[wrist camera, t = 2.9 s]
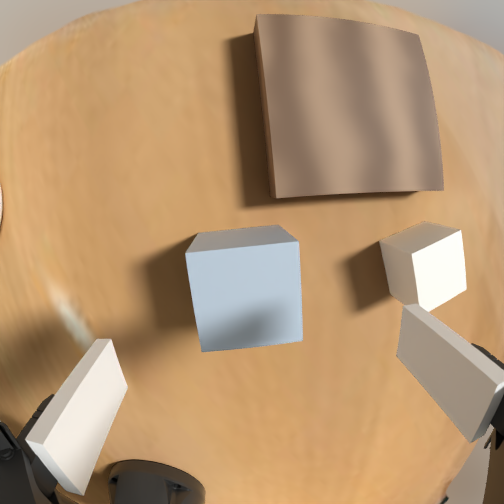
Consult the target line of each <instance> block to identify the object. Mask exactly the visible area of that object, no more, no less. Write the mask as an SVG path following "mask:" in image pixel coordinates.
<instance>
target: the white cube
mask: <svg viewBox="0 0 504 504" xmlns="http://www.w3.org/2000/svg"><path fill="white" fill-rule="evenodd" d="M379 243H380V247H381V252H382V256H383V261H384V266H385V270H386V275H387V280H388V285H389V291H390V294H391V295H392V296H393V297H395V298H396V299H398V300H399V301H400V302H402V303H403V304H404V305H410V304H415V303H417V304H418V305H419V306H421V307H422V308H423V309H425V310H426V311H428V312H429V311H431V310H432V309H434V308H436V307H438V306H439V305H441V304H443V303H445V302H446V301H448V300H450V299H451V298H453V297H455V296H456V295H458V294H459V293H461V292H463V291H464V290H466V274H465V261H464V251H463V243H462V235H461V230H459V229H455V228H451V227H447V226H443V225H439V224H435V223H431V222H426V221H424V222H421V223H419V224H417V225H414V226H412V227H410V228H407V229H405V230H403V231H400V232H398V233H396V234H393V235H391V236H389V237H386V238H384V239H382V240H379Z"/></svg>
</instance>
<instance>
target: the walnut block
mask: <svg viewBox="0 0 504 504" xmlns="http://www.w3.org/2000/svg"><path fill="white" fill-rule="evenodd" d="M253 34H254V43H255V51H256V59H257V68H258V77H259V86H260V95H261V105H262V114H263V124H264V134H265V144H266V155H267V166H268V177H269V188H270V197H274V198H286V197H299V196H313V195H328V194H346V193H367V192H394V191H444V182H443V166H442V154H441V144H440V135H439V127H438V120H437V114H436V108H435V102H434V96H433V91H432V86H431V81H430V77H429V72H428V68H427V64H426V60H425V56H424V52H423V49H422V45H421V42H420V38H419V35H417V34H413V33H410V32H406V31H402V30H398V29H394V28H389V27H385V26H380V25H375V24H370V23H364V22H358V21H352V20H345V19H337V18H328V17H318V16H304V15H280V14H257V15H256V21H255V26H254V32H253Z"/></svg>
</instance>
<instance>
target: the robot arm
mask: <svg viewBox="0 0 504 504" xmlns="http://www.w3.org/2000/svg"><path fill="white" fill-rule="evenodd" d="M396 356H397V357H398V358H399V360H400V361H401V362H402V363H403V364H404V365H405V366H406V368H407V369H408V370H409V371H410V372H411V373H412V375H413V376H414V377H415V378H416V379H417V380H418V381H419V383H420V384H421V385H422V386H423V387H424V388H425V390H426V391H427V392H428V393H429V394H430V396H431V397H432V398H433V399H434V400H435V401H436V403H437V404H438V405H439V406H440V407H441V409H442V410H443V411H444V412H445V413H446V415H447V416H448V417H449V418H450V419H451V421H452V422H453V423H454V424H455V426H456V427H457V428H458V429H459V430H460V432H461V433H462V434H463V435H464V437H465V438H466V439H467V440H468V442H469V443H471V442H473V441H475V440H477V439H478V438H480V437H482V436H483V435H484V434H485V432H486V431H487V428H488V427H489V425H490V423H491V425H492V426H493V427H494V429H493V431H492V433H491V435H490V437H489V439H488V440H487V442H486V443H485V446H484V448H485V449H486V448H487V446H488V444H489V443H490V442H491V447H490V460H489V468H488V476H487V483H486V489H485V494H484V500H483V504H504V364H503V363H502V362H501V361H499V360H497V358H496V357H494V356H493V355H491V354H490V353H489V352H488V351H487V350H485V349H484V348H483V347H480V346H478V345H475V344H473V343H472V344H470V343H469V342H467V341H466V340H465V339H464V338H462V337H461V336H460V335H458V334H457V333H456V332H454V331H453V330H452V329H450V328H449V327H448V326H446V325H445V324H444V323H442V322H441V321H440V320H438V319H437V318H436V317H434V316H433V315H432V314H430V313H429V312H428V311H426V310H425V309H423V308H422V307H421V306H419V305H418V304H417V303H415V304H410V305H406V306H403V311H402V320H401V328H400V335H399V342H398V349H397V355H396ZM127 389H128V387H127V384H126V381H125V378H124V376H123V373H122V370H121V367H120V364H119V362H118V359H117V356H116V353H115V350H114V346H113V343H112V340H111V339H96V341H95V342H94V343H93V344H92V346H91V347H90V348H89V350H88V351H87V352H86V353H85V355H84V356H83V357H82V359H81V360H80V361H79V363H78V364H77V365H76V367H75V368H74V369H73V371H72V372H71V373H70V375H69V376H68V378H67V379H66V380H65V382H64V383H63V384H62V386H61V387H60V389H59V390H58V391H57V393H56V394H55V395H53V394H52V395H50V396H49V397H48V398H46V399H45V400H44V401H42V403H41V404H40V406H39V407H38V408H37V411H35V413H34V414H33V415H32V418H30V420H29V421H28V423H27V424H26V426H25V427H24V428H23V430H22V431H21V433H20V434H19V436H18V437H17V439H16V438H15V437H14V435H13V434H12V433H11V431H10V430H9V428H8V426H7V425H6V424H4V423H2V422H0V504H78V503H76V502H75V501H73V500H71V499H70V498H68V497H66V496H65V495H63V494H61V493H60V492H58V491H57V490H56V488H55V487H56V485H57V482H58V483H59V484H60V485H61V486H62V487H63V488H64V489H65V490H66V491H68V492H71V493H75V494H79V495H83V496H84V494H85V491H86V488H87V485H88V483H89V480H90V477H91V475H92V472H93V470H94V467H95V464H96V462H97V459H98V457H99V454H100V452H101V449H102V447H103V444H104V442H105V440H106V437H107V435H108V432H109V430H110V428H111V425H112V423H113V421H114V418H115V416H116V414H117V411H118V409H119V407H120V404H121V402H122V400H123V398H124V395H125V393H126V391H127ZM108 488H109V497H110V504H205V489H204V487H203V485H202V484H201V483H200V482H199V481H198V480H197V479H195V478H194V477H192V476H191V475H189V474H187V473H185V472H183V471H181V470H178V469H176V468H173V467H170V466H167V465H163V464H159V463H155V462H149V461H140V460H130V461H123V462H120V463H117V464H115V465H114V466H113V467H112V469H111V472H110V475H109V478H108Z"/></svg>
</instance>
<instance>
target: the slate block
mask: <svg viewBox="0 0 504 504" xmlns="http://www.w3.org/2000/svg"><path fill="white" fill-rule="evenodd" d="M185 256H186V263H187V269H188V276H189V282H190V289H191V295H192V301H193V307H194V313H195V318H196V324H197V329H198V335H199V340H200V345H201V350H202V352H210V351H222V350H232V349H242V348H251V347H260V346H268V345H276V344H283V343H290V342H297V341H303V329H302V298H301V274H300V255H299V241H298V240H297V239H295V238H294V237H293V236H292V235H290V234H289V233H288V232H287V231H285V230H284V229H283V228H282V227H281V226H279V225H271V226H260V227H250V228H241V229H231V230H221V231H212V232H203V233H198V234H197V236H196V237H195V239H194V240H193V242H192V243H191V245H190V246H189V248H188V250H187V251H186V253H185Z"/></svg>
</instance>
